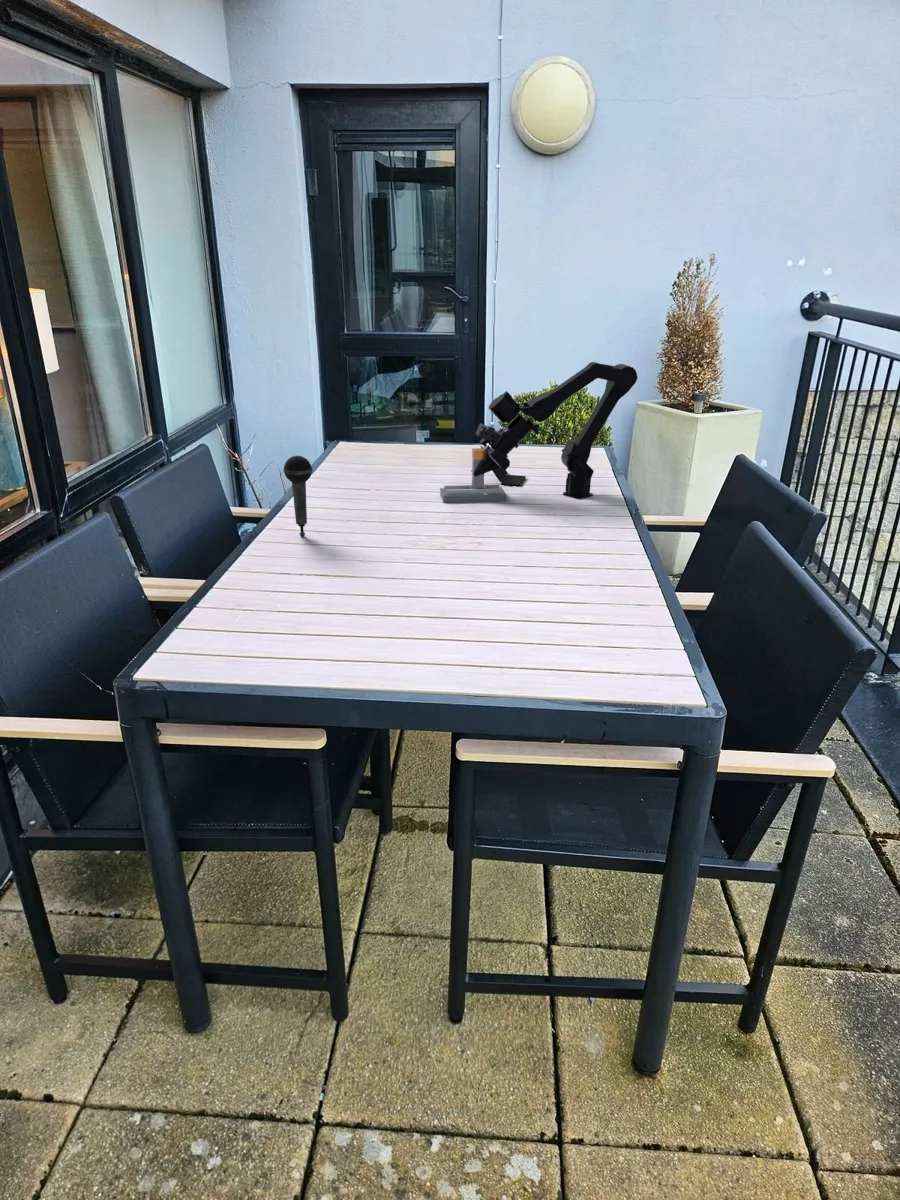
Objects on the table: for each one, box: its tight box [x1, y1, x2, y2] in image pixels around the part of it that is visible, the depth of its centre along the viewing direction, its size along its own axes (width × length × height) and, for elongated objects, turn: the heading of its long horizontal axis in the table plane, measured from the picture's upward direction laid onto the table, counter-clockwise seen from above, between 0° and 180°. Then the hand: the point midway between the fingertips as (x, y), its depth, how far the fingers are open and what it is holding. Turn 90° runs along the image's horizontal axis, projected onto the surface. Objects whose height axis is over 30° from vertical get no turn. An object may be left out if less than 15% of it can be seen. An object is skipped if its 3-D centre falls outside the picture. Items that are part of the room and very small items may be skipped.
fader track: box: [439, 483, 507, 504], centre depth 225 cm, size 18×8×3 cm, turn 97°
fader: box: [467, 447, 487, 489], centre depth 223 cm, size 5×3×12 cm, turn 97°
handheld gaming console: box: [491, 465, 527, 488], centre depth 243 cm, size 12×7×10 cm
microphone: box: [282, 455, 313, 538], centre depth 189 cm, size 7×7×20 cm
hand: (473, 473), depth 223 cm, fingers closed on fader, 3 cm apart
